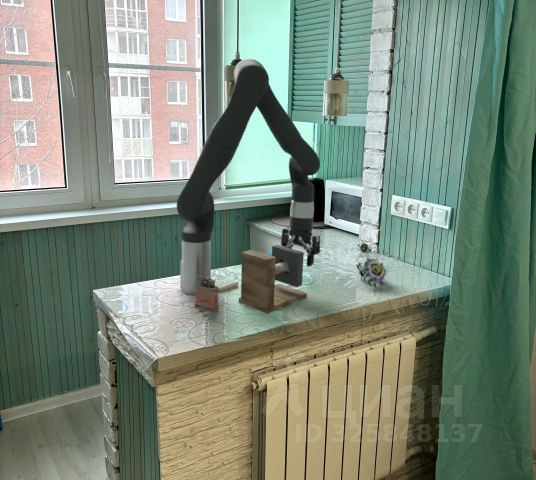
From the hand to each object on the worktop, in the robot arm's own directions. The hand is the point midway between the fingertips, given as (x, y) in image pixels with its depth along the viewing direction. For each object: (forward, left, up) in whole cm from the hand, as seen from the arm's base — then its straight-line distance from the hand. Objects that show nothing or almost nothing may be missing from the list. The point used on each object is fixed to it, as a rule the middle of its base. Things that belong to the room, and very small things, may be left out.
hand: (299, 262), depth 172 cm
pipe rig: (0, -12, -10) cm, 16 cm away
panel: (0, -6, -5) cm, 8 cm away
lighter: (-9, -32, -10) cm, 35 cm away
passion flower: (+13, +24, -10) cm, 29 cm away
